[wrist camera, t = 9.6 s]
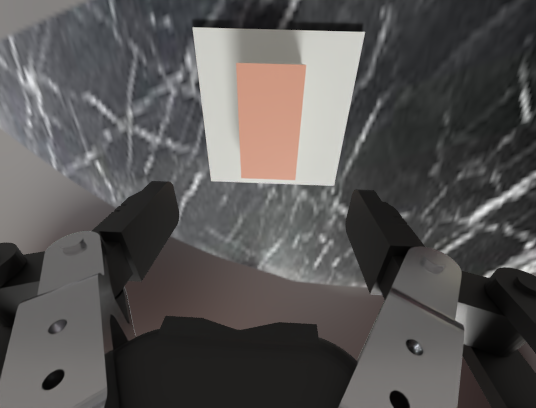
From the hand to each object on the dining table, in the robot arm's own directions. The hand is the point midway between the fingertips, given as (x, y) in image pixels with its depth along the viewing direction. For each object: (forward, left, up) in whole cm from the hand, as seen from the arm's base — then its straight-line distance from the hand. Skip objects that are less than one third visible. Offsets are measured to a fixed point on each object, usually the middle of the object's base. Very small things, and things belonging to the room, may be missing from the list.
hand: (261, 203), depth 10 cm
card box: (0, 0, -16) cm, 16 cm away
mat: (0, 0, -17) cm, 17 cm away
